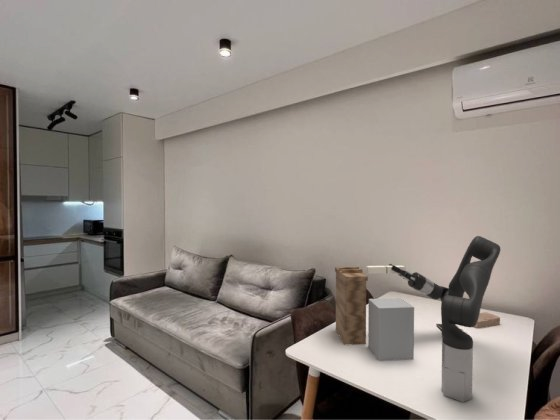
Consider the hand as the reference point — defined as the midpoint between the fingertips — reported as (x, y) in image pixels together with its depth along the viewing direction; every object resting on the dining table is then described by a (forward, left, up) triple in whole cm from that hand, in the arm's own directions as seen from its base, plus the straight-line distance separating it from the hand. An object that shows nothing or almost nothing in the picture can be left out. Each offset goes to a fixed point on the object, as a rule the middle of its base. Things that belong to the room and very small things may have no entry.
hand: (390, 266), depth 147 cm
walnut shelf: (-10, +16, -35) cm, 40 cm away
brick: (+49, -30, -36) cm, 68 cm away
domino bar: (-2, +2, -3) cm, 4 cm away
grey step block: (-13, -5, -35) cm, 38 cm away
